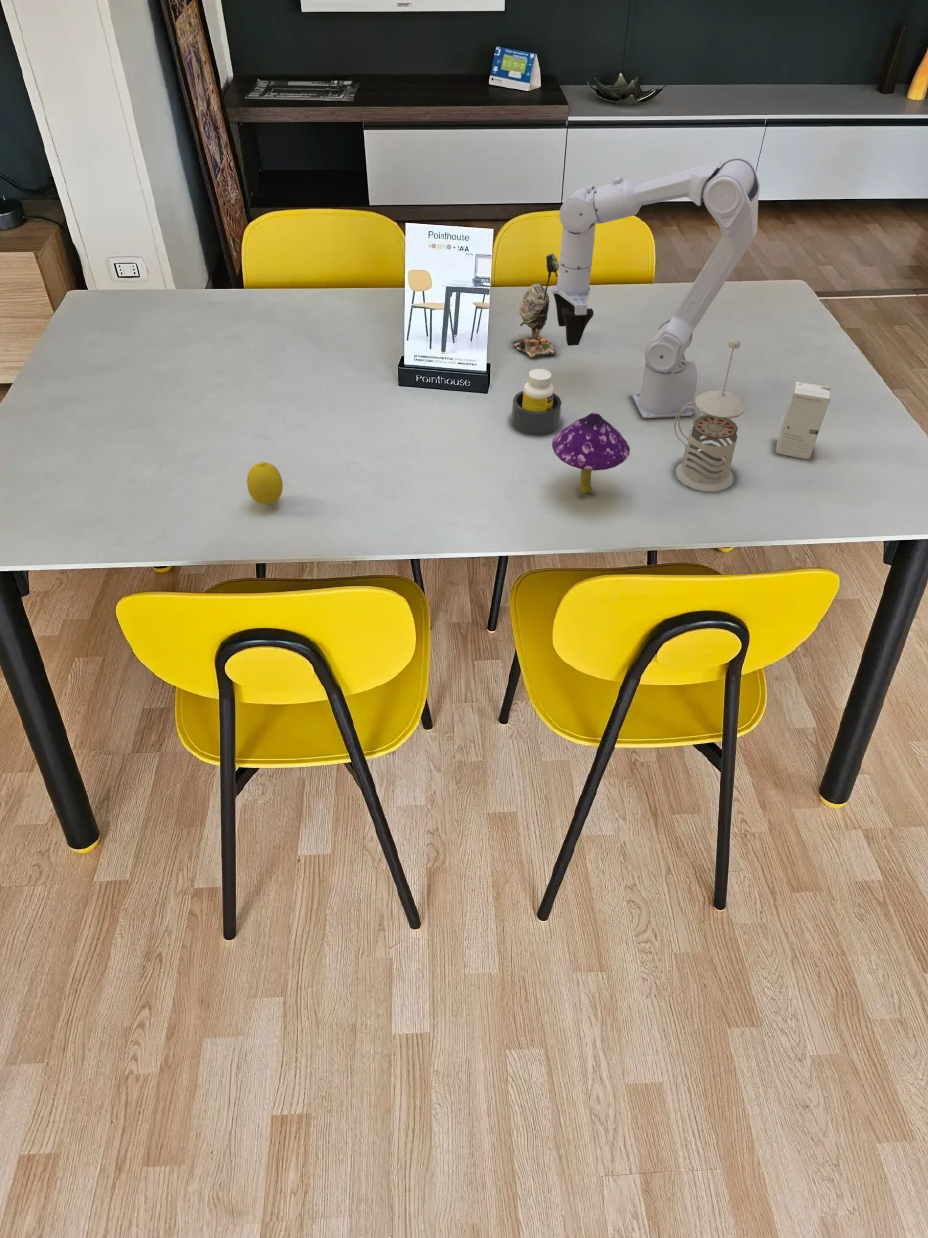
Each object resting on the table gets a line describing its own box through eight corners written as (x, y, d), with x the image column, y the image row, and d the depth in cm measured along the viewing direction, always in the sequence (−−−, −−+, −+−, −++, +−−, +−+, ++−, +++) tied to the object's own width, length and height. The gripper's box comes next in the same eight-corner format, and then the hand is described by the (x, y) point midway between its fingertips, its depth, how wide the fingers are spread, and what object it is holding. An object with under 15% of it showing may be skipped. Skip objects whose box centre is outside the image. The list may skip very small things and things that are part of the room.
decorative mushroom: (634, 508, 154) (648, 428, 144) (563, 520, 152) (572, 440, 141) (605, 466, 163) (616, 388, 153) (536, 477, 160) (543, 398, 150)
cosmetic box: (775, 454, 167) (792, 392, 158) (776, 441, 170) (794, 380, 162) (811, 460, 165) (830, 399, 157) (812, 447, 169) (831, 386, 160)
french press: (721, 498, 157) (755, 360, 140) (656, 476, 161) (682, 339, 144) (741, 470, 163) (776, 334, 146) (678, 449, 167) (705, 315, 150)
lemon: (252, 495, 155) (245, 453, 150) (286, 493, 156) (280, 452, 150) (249, 515, 151) (242, 473, 146) (284, 514, 152) (278, 472, 146)
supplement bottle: (549, 432, 170) (553, 383, 163) (519, 429, 170) (522, 380, 164) (552, 416, 174) (556, 367, 167) (522, 413, 174) (526, 365, 167)
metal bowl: (553, 409, 177) (555, 387, 174) (563, 434, 170) (565, 412, 167) (508, 411, 176) (509, 390, 173) (516, 436, 169) (517, 414, 166)
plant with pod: (545, 332, 199) (553, 237, 185) (558, 358, 191) (568, 260, 177) (508, 335, 198) (512, 239, 184) (519, 361, 190) (525, 263, 176)
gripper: (545, 247, 172) (539, 318, 181) (561, 281, 161) (555, 354, 170) (583, 246, 172) (575, 316, 182) (602, 279, 162) (593, 352, 171)
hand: (568, 334), depth 176 cm, fingers open, 7 cm apart
